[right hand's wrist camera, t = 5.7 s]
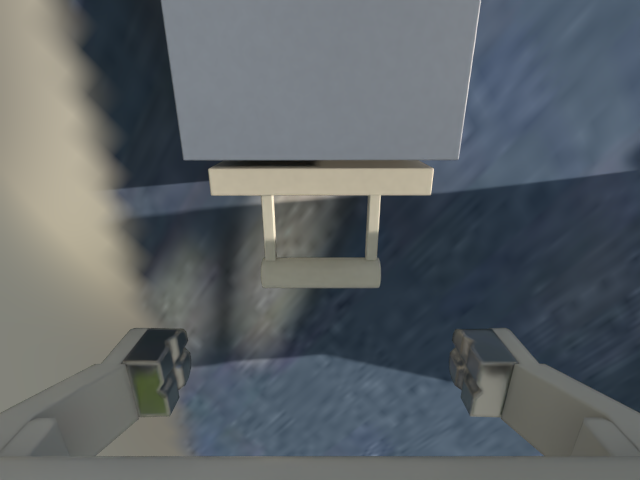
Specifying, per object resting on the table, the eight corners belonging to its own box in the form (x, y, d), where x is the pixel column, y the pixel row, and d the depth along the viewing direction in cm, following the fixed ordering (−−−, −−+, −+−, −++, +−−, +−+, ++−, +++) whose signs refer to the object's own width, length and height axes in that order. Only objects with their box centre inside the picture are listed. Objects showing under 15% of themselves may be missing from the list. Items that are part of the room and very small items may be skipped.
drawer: (388, 253, 25) (417, 314, 17) (252, 253, 25) (224, 314, 17) (430, -293, 15) (531, -660, 8) (210, -292, 15) (109, -656, 8)
